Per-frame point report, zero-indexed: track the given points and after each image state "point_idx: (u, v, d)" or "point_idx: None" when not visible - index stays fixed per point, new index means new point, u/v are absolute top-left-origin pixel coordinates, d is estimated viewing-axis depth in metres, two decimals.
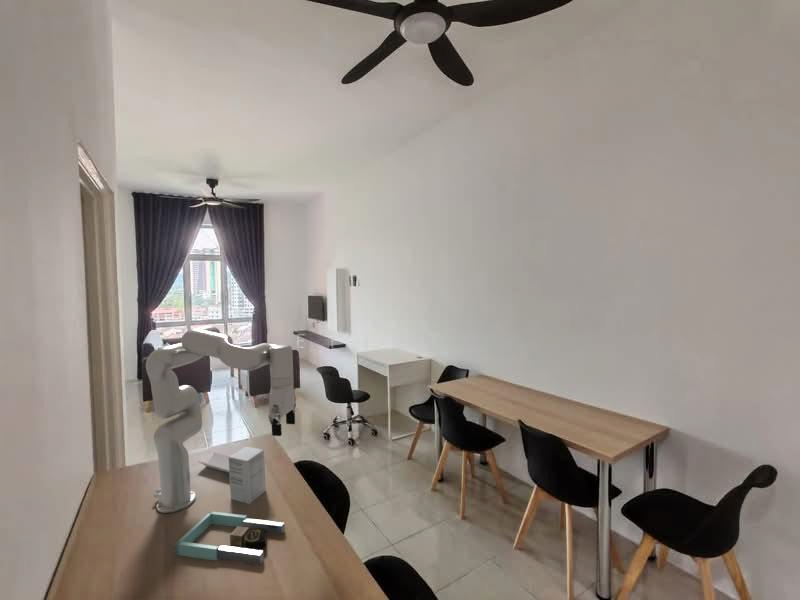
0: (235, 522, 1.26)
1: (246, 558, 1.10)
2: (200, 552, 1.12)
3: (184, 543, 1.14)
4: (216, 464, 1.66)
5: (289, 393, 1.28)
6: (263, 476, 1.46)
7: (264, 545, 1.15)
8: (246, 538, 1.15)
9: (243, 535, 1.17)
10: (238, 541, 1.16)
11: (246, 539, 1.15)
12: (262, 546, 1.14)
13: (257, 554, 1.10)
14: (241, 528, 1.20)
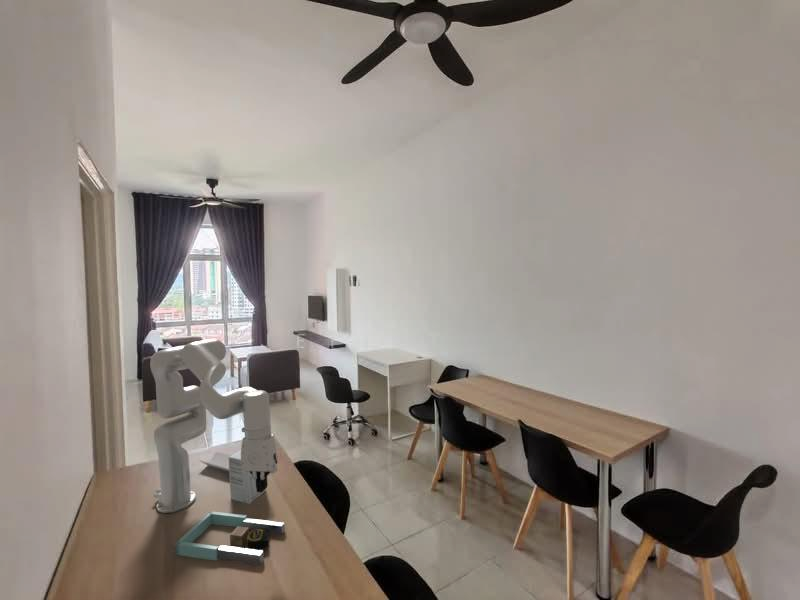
0: (235, 522, 1.26)
1: (246, 558, 1.10)
2: (200, 552, 1.12)
3: (184, 543, 1.14)
4: (218, 463, 1.67)
5: None
6: None
7: (266, 544, 1.15)
8: (249, 537, 1.16)
9: (243, 535, 1.17)
10: (238, 541, 1.16)
11: (249, 538, 1.15)
12: (265, 545, 1.15)
13: (257, 554, 1.10)
14: (241, 528, 1.20)
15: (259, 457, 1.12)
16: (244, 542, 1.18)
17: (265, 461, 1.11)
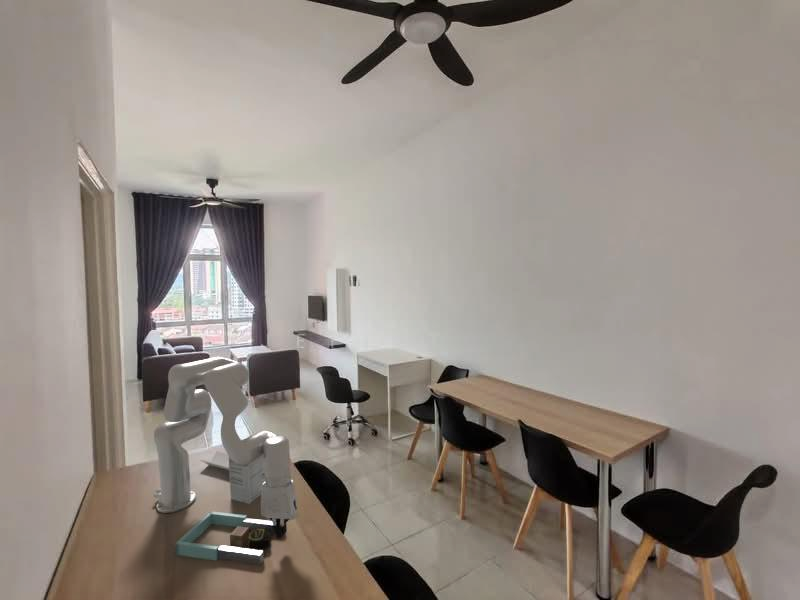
0: (235, 522, 1.26)
1: (246, 558, 1.10)
2: (200, 552, 1.12)
3: (184, 543, 1.14)
4: (218, 463, 1.67)
5: None
6: None
7: (268, 543, 1.15)
8: (250, 537, 1.16)
9: (243, 535, 1.17)
10: (238, 541, 1.16)
11: (250, 538, 1.16)
12: (266, 545, 1.15)
13: (257, 554, 1.10)
14: (241, 528, 1.20)
15: (279, 504, 1.12)
16: (244, 542, 1.18)
17: (285, 508, 1.11)
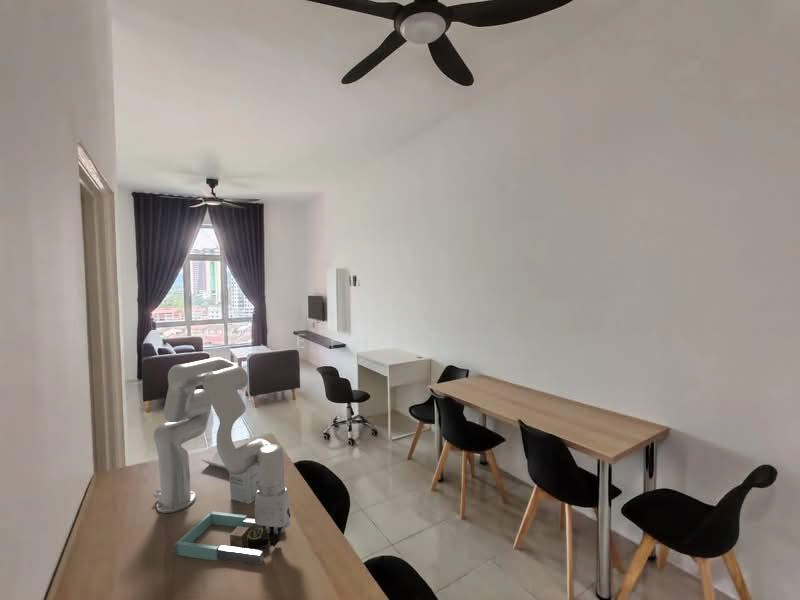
0: (235, 522, 1.26)
1: (246, 558, 1.10)
2: (200, 552, 1.12)
3: (184, 543, 1.14)
4: (219, 462, 1.67)
5: None
6: None
7: (266, 542, 1.15)
8: (249, 536, 1.16)
9: (243, 535, 1.17)
10: (238, 541, 1.16)
11: (249, 537, 1.16)
12: (265, 544, 1.15)
13: (257, 554, 1.10)
14: (241, 528, 1.20)
15: (273, 513, 1.12)
16: (244, 542, 1.18)
17: (279, 517, 1.12)
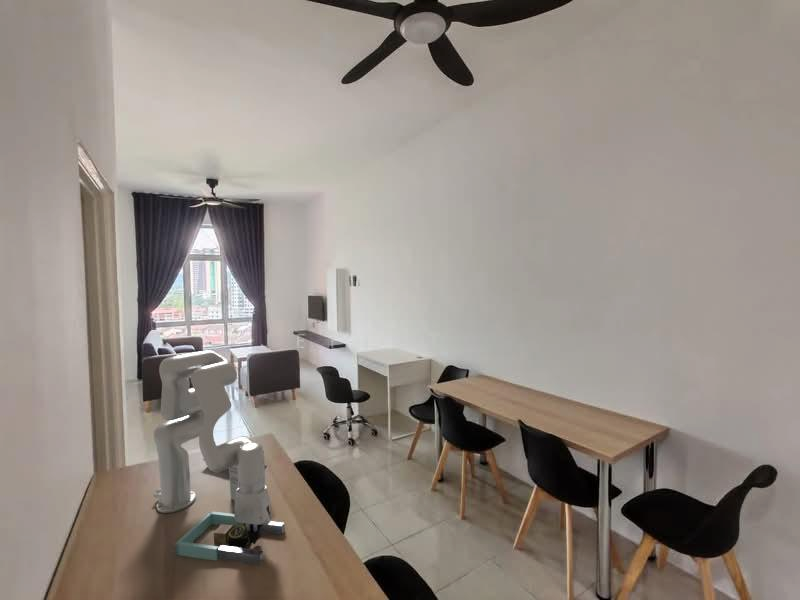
0: (235, 522, 1.26)
1: (246, 558, 1.10)
2: (200, 552, 1.12)
3: (184, 543, 1.14)
4: None
5: None
6: None
7: (246, 542, 1.16)
8: (230, 534, 1.17)
9: (227, 533, 1.18)
10: (222, 539, 1.17)
11: (230, 535, 1.17)
12: (244, 543, 1.16)
13: (257, 554, 1.10)
14: (225, 526, 1.21)
15: (252, 510, 1.14)
16: None
17: (258, 514, 1.13)
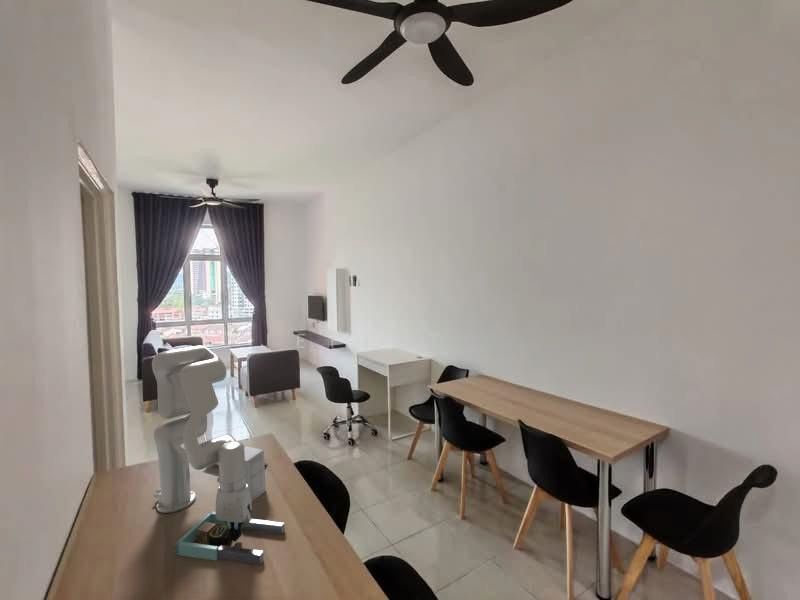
0: None
1: (246, 558, 1.10)
2: (200, 552, 1.12)
3: (184, 543, 1.14)
4: None
5: None
6: (263, 476, 1.46)
7: (226, 541, 1.16)
8: (211, 533, 1.18)
9: (209, 531, 1.19)
10: (204, 536, 1.19)
11: (210, 534, 1.18)
12: (224, 543, 1.16)
13: (257, 554, 1.10)
14: (208, 523, 1.22)
15: (233, 508, 1.15)
16: None
17: (239, 512, 1.15)
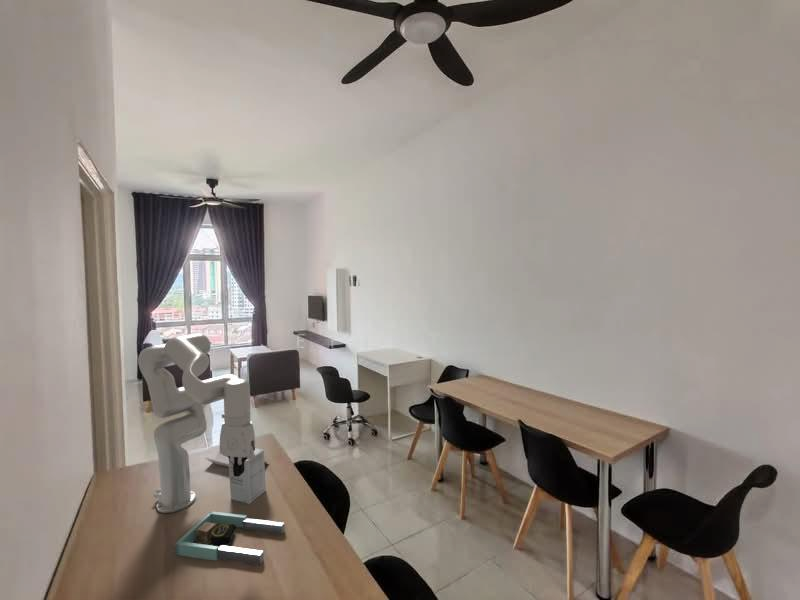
0: (235, 522, 1.26)
1: (246, 558, 1.10)
2: (200, 552, 1.12)
3: (184, 543, 1.14)
4: (223, 460, 1.69)
5: None
6: (263, 476, 1.46)
7: (228, 541, 1.17)
8: (213, 532, 1.18)
9: (209, 531, 1.19)
10: (204, 536, 1.19)
11: (212, 533, 1.18)
12: (226, 542, 1.16)
13: (257, 554, 1.10)
14: (208, 523, 1.22)
15: (237, 443, 1.15)
16: None
17: (243, 447, 1.15)
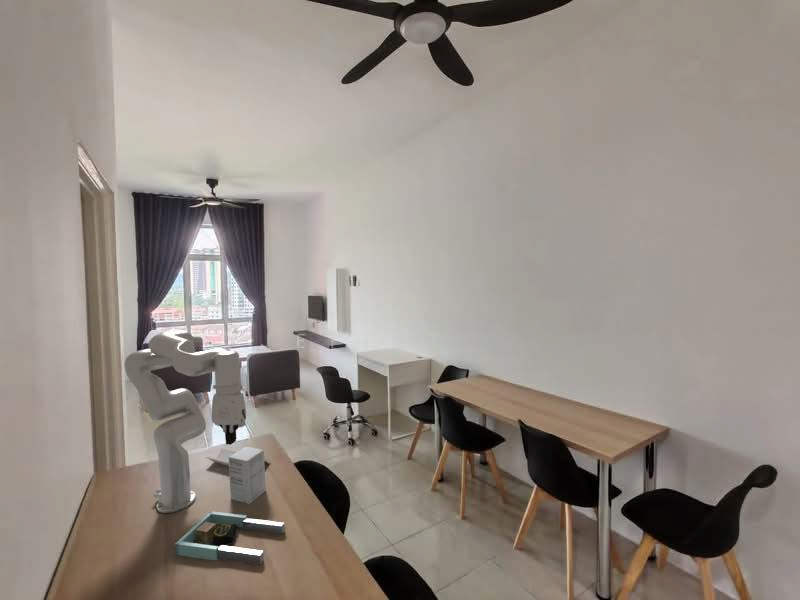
0: (235, 522, 1.26)
1: (246, 558, 1.10)
2: (200, 552, 1.12)
3: (184, 543, 1.14)
4: (224, 460, 1.70)
5: None
6: (263, 476, 1.46)
7: (230, 540, 1.17)
8: (215, 532, 1.19)
9: (209, 531, 1.19)
10: (204, 536, 1.19)
11: (215, 533, 1.18)
12: (228, 541, 1.17)
13: (257, 554, 1.10)
14: (208, 523, 1.22)
15: (228, 411, 1.21)
16: (210, 538, 1.20)
17: (234, 415, 1.21)
